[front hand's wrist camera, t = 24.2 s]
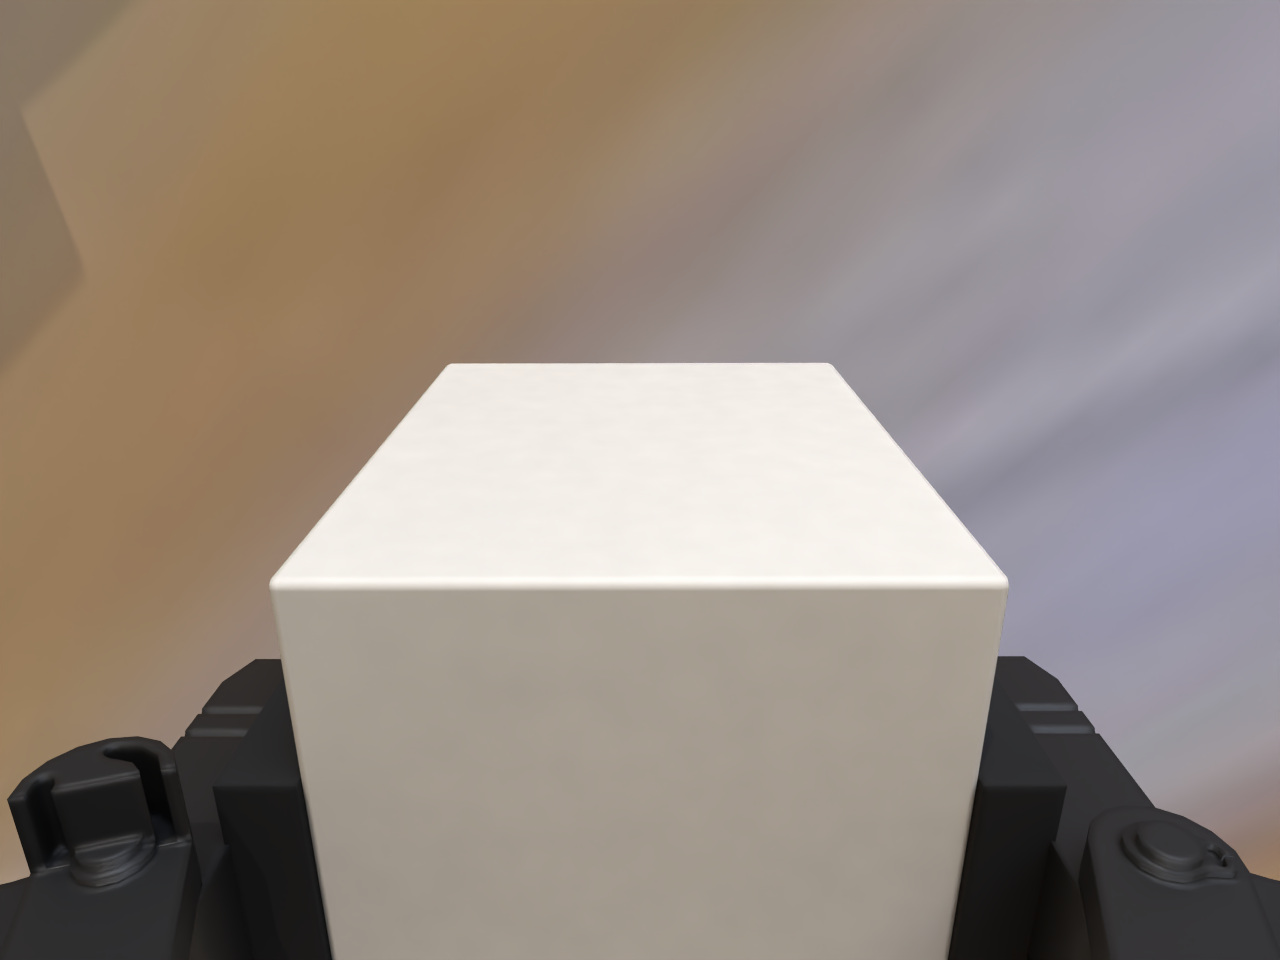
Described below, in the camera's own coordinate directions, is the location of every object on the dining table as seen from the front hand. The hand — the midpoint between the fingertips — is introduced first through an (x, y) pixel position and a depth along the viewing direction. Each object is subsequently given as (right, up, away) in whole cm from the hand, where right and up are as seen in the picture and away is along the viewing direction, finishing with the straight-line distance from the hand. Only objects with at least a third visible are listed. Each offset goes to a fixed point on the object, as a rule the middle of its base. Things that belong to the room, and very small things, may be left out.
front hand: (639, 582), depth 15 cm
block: (0, +1, +1) cm, 1 cm away
